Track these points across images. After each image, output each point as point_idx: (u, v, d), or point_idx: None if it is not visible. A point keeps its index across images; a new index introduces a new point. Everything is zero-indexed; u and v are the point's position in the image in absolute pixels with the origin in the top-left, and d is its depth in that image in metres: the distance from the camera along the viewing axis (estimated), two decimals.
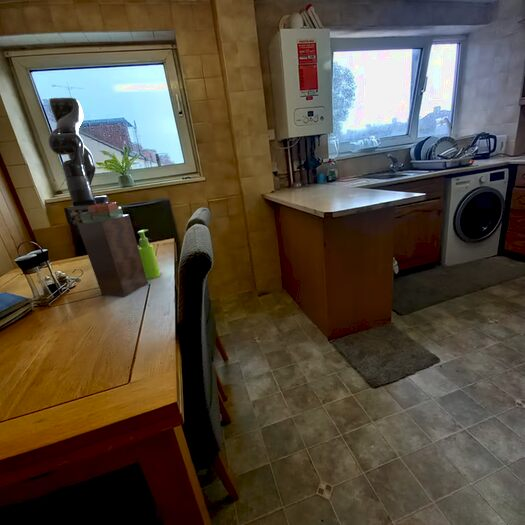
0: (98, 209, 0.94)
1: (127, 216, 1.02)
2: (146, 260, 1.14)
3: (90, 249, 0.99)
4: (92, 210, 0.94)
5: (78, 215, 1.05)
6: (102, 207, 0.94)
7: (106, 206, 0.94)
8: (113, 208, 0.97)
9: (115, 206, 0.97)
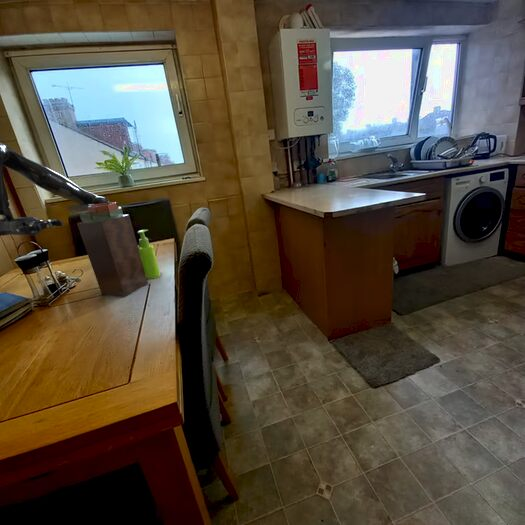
0: (98, 209, 0.94)
1: (127, 216, 1.02)
2: (146, 260, 1.14)
3: (90, 249, 0.99)
4: (92, 210, 0.94)
5: None
6: (102, 207, 0.94)
7: (106, 206, 0.94)
8: (113, 208, 0.97)
9: (115, 206, 0.97)
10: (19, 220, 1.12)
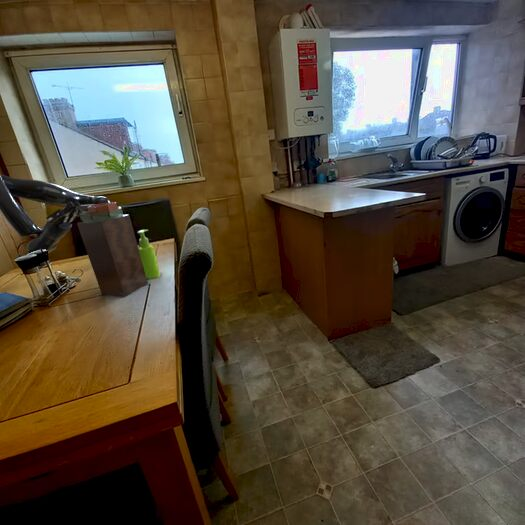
0: (98, 209, 0.94)
1: (127, 216, 1.02)
2: (146, 260, 1.14)
3: (90, 249, 0.99)
4: (92, 210, 0.94)
5: None
6: (102, 207, 0.94)
7: (106, 206, 0.94)
8: (113, 208, 0.97)
9: (115, 206, 0.97)
10: None
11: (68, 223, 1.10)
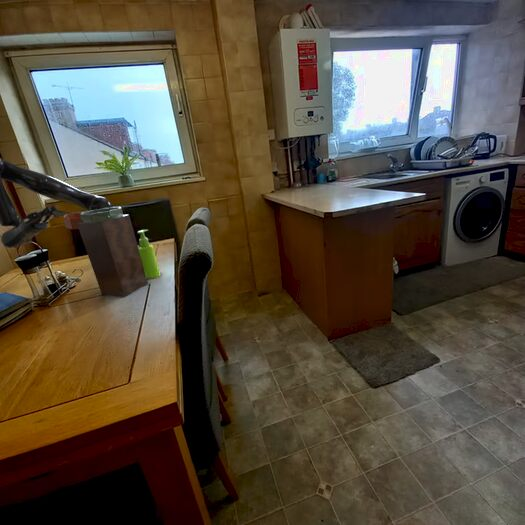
0: (73, 221, 0.99)
1: (127, 216, 1.02)
2: (146, 260, 1.14)
3: (90, 249, 0.99)
4: (67, 221, 1.00)
5: None
6: (77, 219, 1.00)
7: None
8: None
9: None
10: None
11: (44, 223, 1.15)
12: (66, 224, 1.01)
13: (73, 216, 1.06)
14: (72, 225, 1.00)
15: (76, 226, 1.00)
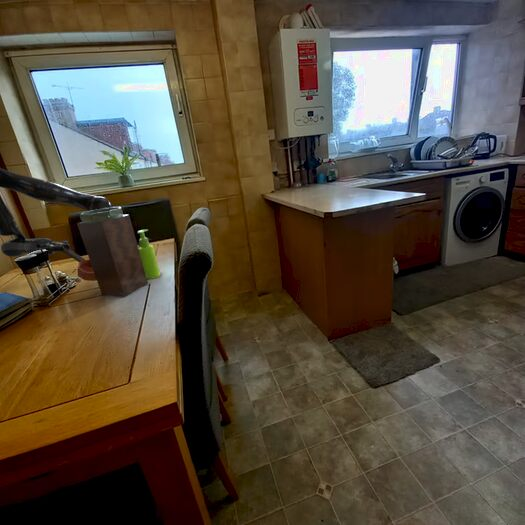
0: (87, 274, 1.08)
1: (127, 216, 1.02)
2: (146, 260, 1.14)
3: (90, 249, 0.99)
4: (81, 272, 1.08)
5: None
6: (91, 274, 1.09)
7: None
8: None
9: None
10: (34, 242, 1.16)
11: None
12: (79, 274, 1.09)
13: (85, 262, 1.13)
14: (85, 277, 1.09)
15: (88, 278, 1.10)
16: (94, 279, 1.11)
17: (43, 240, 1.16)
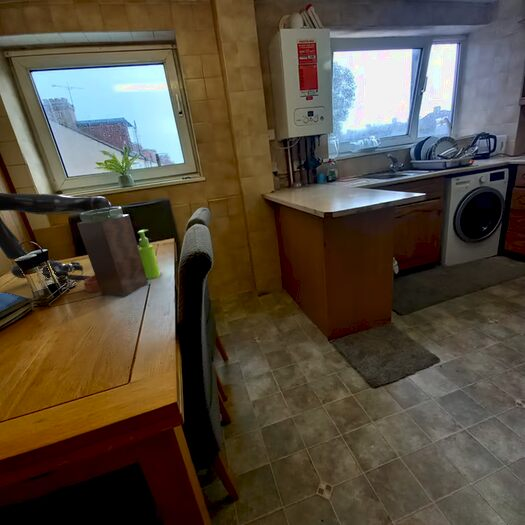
0: (93, 285, 1.09)
1: (127, 216, 1.02)
2: (146, 260, 1.14)
3: (90, 249, 0.99)
4: (87, 285, 1.10)
5: None
6: (96, 282, 1.09)
7: None
8: None
9: None
10: None
11: None
12: (87, 288, 1.10)
13: (92, 279, 1.16)
14: (92, 288, 1.10)
15: (96, 289, 1.10)
16: None
17: (52, 263, 1.20)
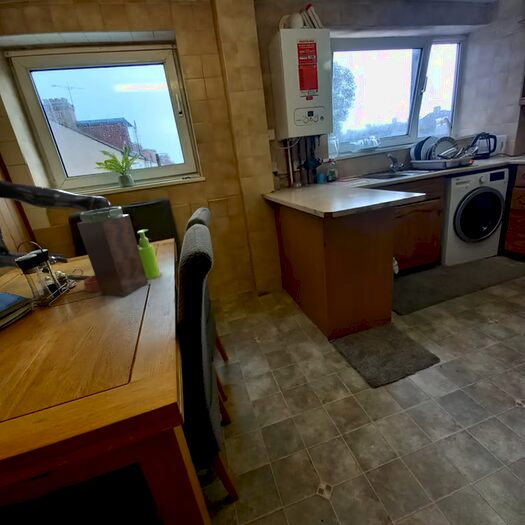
0: (93, 285, 1.09)
1: (127, 216, 1.02)
2: (146, 260, 1.14)
3: (90, 249, 0.99)
4: (87, 285, 1.10)
5: None
6: (96, 282, 1.09)
7: None
8: None
9: None
10: None
11: None
12: (87, 288, 1.10)
13: (92, 279, 1.16)
14: (92, 288, 1.10)
15: (96, 289, 1.10)
16: None
17: None
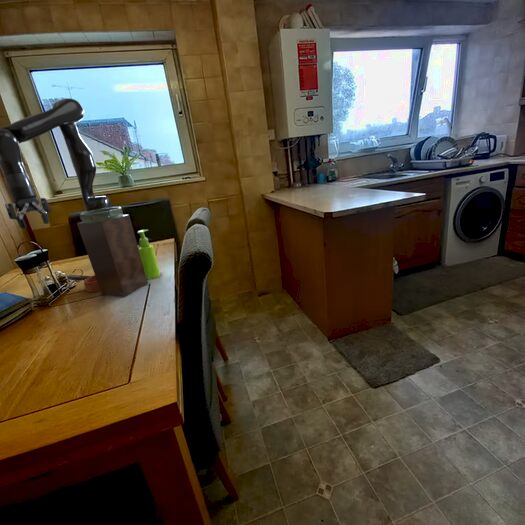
0: (93, 285, 1.09)
1: (127, 216, 1.02)
2: (146, 260, 1.14)
3: (90, 249, 0.99)
4: (87, 285, 1.10)
5: None
6: (96, 282, 1.09)
7: None
8: None
9: None
10: (20, 190, 1.07)
11: None
12: (87, 288, 1.10)
13: (92, 279, 1.16)
14: (92, 288, 1.10)
15: (96, 289, 1.10)
16: None
17: (29, 197, 1.09)
